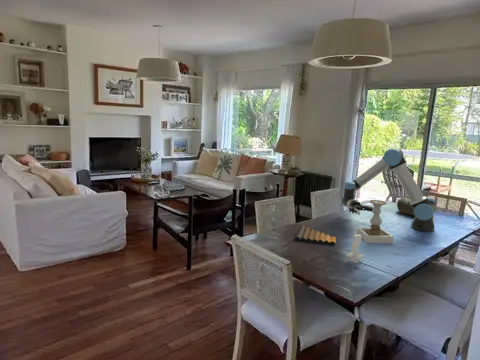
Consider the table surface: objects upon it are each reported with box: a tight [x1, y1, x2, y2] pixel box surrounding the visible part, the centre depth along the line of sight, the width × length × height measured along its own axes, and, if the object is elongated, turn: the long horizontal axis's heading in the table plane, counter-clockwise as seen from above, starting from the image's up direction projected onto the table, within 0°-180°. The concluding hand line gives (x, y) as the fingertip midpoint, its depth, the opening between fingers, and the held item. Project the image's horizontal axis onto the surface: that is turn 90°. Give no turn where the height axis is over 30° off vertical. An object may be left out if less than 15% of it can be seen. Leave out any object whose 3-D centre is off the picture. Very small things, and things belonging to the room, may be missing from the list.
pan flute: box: [294, 225, 337, 247], centre depth 230 cm, size 25×3×25 cm
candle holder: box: [365, 199, 387, 236], centre depth 228 cm, size 11×11×24 cm
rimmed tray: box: [356, 227, 395, 244], centre depth 230 cm, size 17×17×4 cm
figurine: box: [346, 234, 365, 264], centre depth 190 cm, size 7×9×15 cm
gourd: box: [396, 195, 415, 217], centre depth 295 cm, size 25×25×17 cm
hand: (368, 213), depth 237 cm, fingers open, 13 cm apart
